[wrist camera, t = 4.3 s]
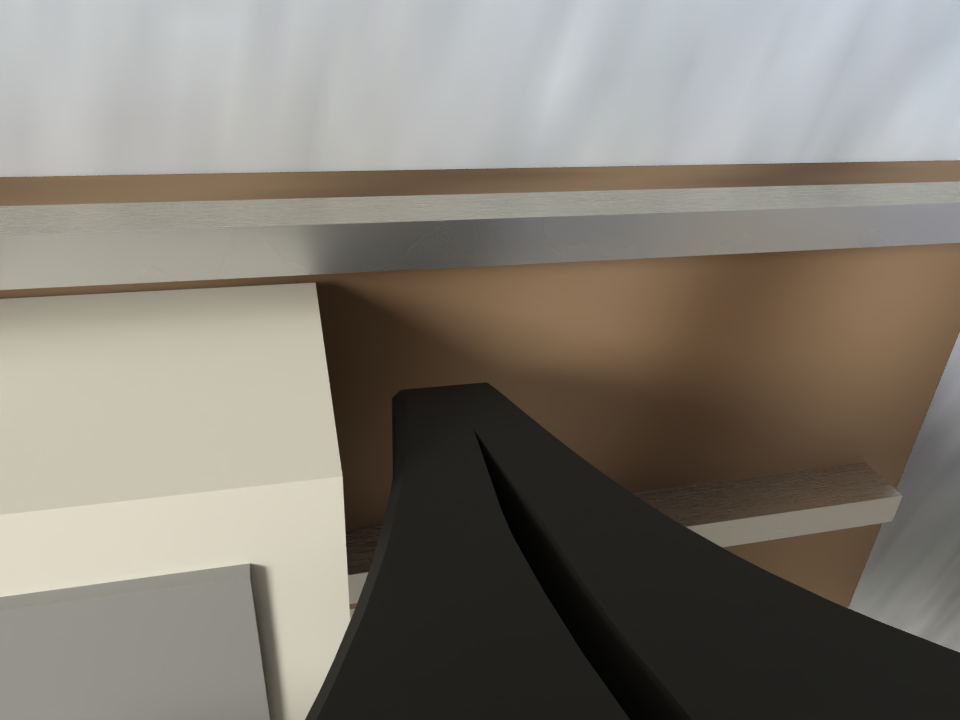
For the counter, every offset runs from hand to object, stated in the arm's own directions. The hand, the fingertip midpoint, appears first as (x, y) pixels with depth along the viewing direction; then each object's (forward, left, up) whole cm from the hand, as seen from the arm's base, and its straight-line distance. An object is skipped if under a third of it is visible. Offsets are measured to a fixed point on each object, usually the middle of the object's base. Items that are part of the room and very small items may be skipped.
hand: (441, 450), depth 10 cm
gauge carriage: (0, +4, -1) cm, 4 cm away
